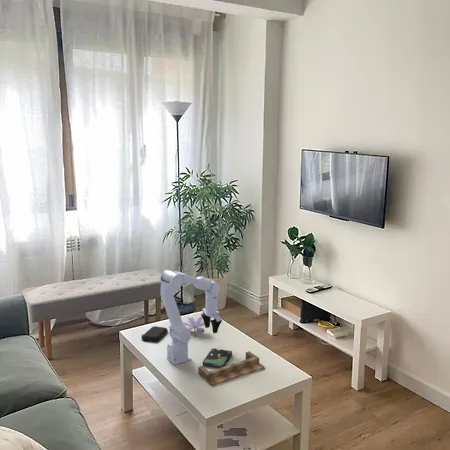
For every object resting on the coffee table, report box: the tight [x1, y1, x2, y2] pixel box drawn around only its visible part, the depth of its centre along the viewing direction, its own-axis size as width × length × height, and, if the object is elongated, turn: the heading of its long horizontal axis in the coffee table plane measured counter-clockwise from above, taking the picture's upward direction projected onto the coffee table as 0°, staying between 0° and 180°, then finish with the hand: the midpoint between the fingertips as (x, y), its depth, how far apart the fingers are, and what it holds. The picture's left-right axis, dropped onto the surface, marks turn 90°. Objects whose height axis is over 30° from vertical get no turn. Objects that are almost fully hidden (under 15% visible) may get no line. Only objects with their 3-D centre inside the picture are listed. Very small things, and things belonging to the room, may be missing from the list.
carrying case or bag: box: [141, 325, 169, 343], centre depth 247 cm, size 11×3×15 cm
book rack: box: [197, 350, 265, 387], centre depth 211 cm, size 28×12×4 cm, turn 123°
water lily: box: [183, 316, 205, 337], centre depth 249 cm, size 15×15×9 cm
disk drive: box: [202, 348, 233, 369], centre depth 221 cm, size 10×3×15 cm
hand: (211, 330), depth 234 cm, fingers open, 7 cm apart
